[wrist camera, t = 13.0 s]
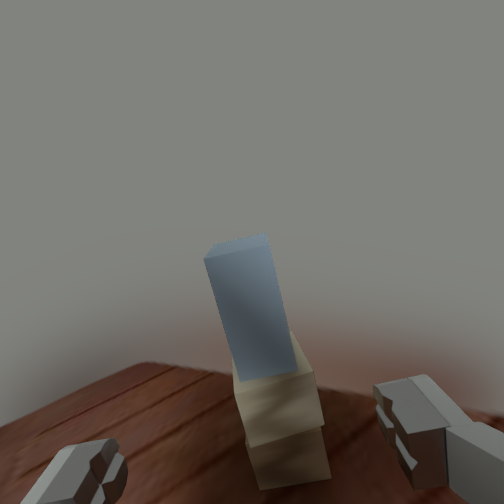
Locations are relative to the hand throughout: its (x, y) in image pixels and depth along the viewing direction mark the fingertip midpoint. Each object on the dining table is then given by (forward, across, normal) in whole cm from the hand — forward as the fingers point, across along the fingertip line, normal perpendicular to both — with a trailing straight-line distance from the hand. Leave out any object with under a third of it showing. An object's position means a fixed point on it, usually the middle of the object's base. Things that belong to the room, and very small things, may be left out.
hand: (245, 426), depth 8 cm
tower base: (+12, 0, +17) cm, 21 cm away
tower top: (+12, 0, +12) cm, 17 cm away
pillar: (+12, 0, +7) cm, 14 cm away
